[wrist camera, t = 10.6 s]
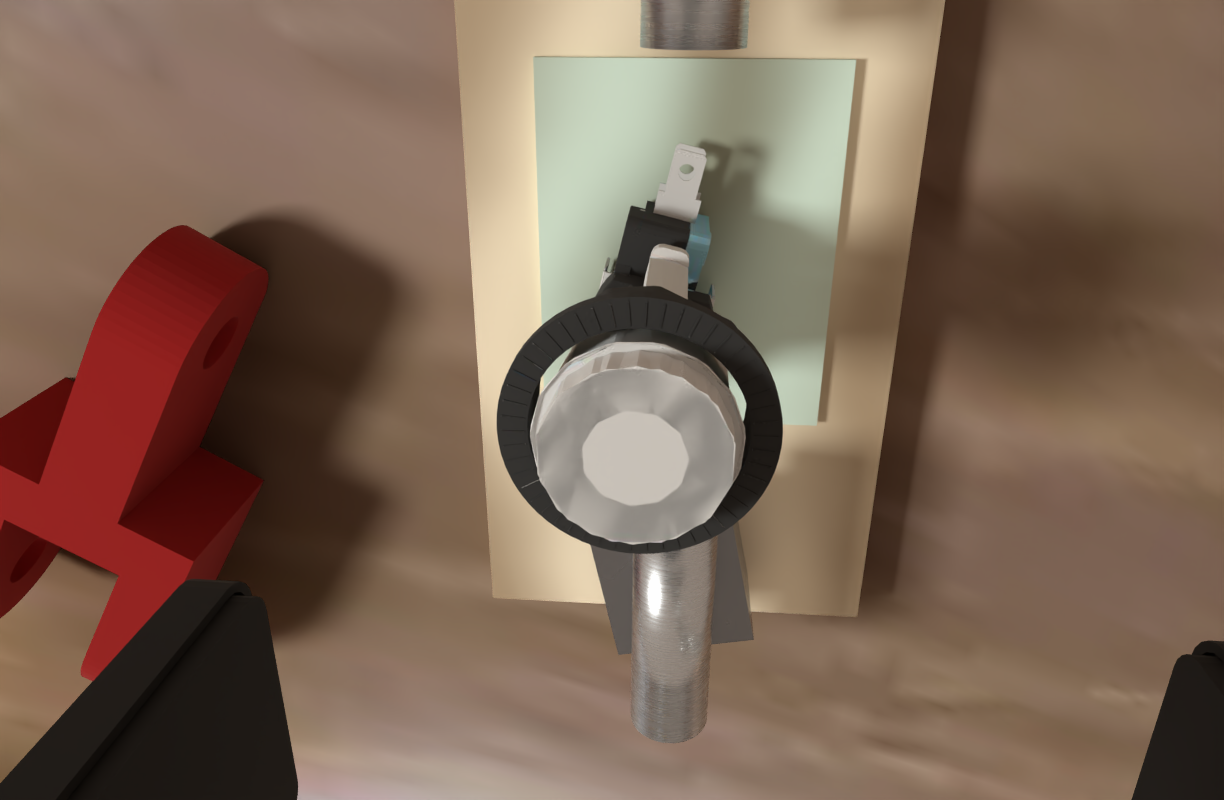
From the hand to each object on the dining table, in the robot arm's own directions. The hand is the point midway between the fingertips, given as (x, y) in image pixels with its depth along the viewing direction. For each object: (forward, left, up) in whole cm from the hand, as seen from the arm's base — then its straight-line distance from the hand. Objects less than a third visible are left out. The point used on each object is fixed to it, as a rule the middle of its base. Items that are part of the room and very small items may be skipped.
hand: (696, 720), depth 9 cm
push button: (+1, 0, -17) cm, 17 cm away
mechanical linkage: (+17, +7, -19) cm, 27 cm away
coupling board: (0, 0, -19) cm, 19 cm away
